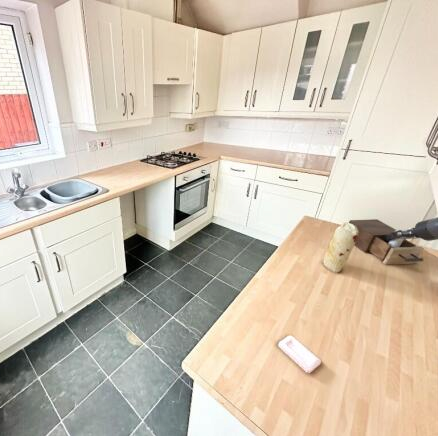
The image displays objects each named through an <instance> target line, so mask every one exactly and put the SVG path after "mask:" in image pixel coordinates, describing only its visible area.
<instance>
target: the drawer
mask: <svg viewBox="0 0 438 436" xmlns="http://www.w3.org/2000/svg"><path fill="white" fill-rule="evenodd" d="M388 243H389V241H387V240H386V236H374V239H373V241H372V242H371V244H370V246H369V248H368V251H370V252H371V253H370V254H372V255H374V256H375V257H376V258H378V259H379V260H381V261H383V262H382V263H383V264H384V265H403V264H415V263H418V262H419V263H421V262H424V258H423V257H419V256H420V255H421V253H422V251H423V250H424V247H422V246H417V245H416V244H415V243H414V242H411V241H410V240H409V239H404V240H403V242H402V243H401V245H400V247H395V248H391V245H389V244H388ZM390 248H391V249H390Z"/></svg>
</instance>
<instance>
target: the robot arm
mask: <svg viewBox="0 0 438 436" xmlns="http://www.w3.org/2000/svg"><path fill="white" fill-rule="evenodd" d="M397 230H398V231H395V232H393V233H390V234H391V235H387V236H386V240H387V241H390V240H395V239H406V240H411V239H412V240H415V239H416V240H417V239H421V240H424V241H427V242H431V241H437V240H438V216H437V217H434V218H429V219H425V220H421V221H418V222H417V223H416V224H415V226H414V227H409V228H407V229H397ZM405 236H406V237H405Z"/></svg>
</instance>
